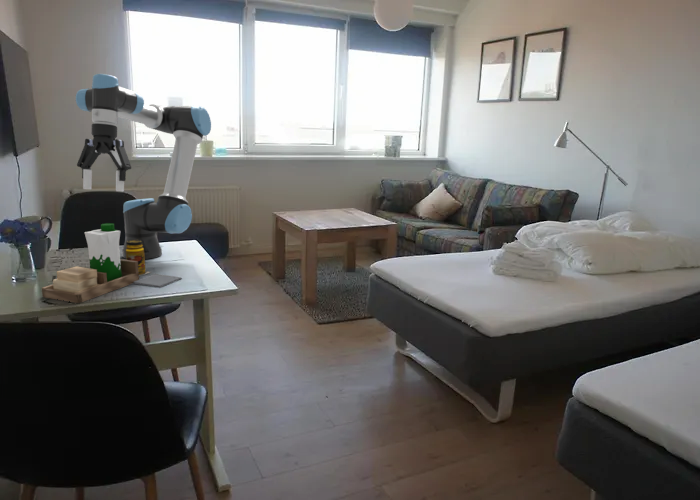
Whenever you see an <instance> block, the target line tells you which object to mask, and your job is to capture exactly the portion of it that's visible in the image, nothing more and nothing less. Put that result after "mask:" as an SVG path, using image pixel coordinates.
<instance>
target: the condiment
mask: <svg viewBox="0 0 700 500" xmlns="http://www.w3.org/2000/svg"><path fill="white" fill-rule="evenodd" d="M126 244H127V246H126V247H127V249H126V258H125V260H131V261H138V272H139V277H140V276H144V275H147V274H149V273H152V271H147V270H146V269H147V268H146V261H145V260H146V259H145V255H144V248H143V247H142V246H143V245H142V241H141V240H131V241H127V242H126Z"/></svg>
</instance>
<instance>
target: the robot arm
mask: <svg viewBox="0 0 700 500" xmlns="http://www.w3.org/2000/svg"><path fill="white" fill-rule="evenodd" d="M119 85H120V84H119V79H118V77H116V76H114V75H111V74H108V73H107V74H106V73H97V74H96V73H95V74H94V75H93V76H92V85H91V88H89V87H88V88H83V89H79V90H77V92H76V95H75V102H76V105H77V107H78V109H80V110H81V111H84V112H89V113H91V122H92V124H91V135H92V136H93V139H91V138H85V140H84V146H83V149H82V150H81V153H80V156H79V158H78V161H77V162H76V166H77V167H79V168H81V178H82V183H83V184H82V190H91V191H92V187H93V185H92V183H93V178H92V177H93V170H92V168H91V167H92V166H93V164H94V163H95V162H96V161H97V159H98V157H99V156H100V155H102V154H103V155H105V154H107V155H109V157H110V159H111V160H112V162H113V164H114V165H115V166H116V169H117V170H116V171H115V191H116V192H124V191H125V182H126V175H127V174H126V172H127V171H129V170H131V169H132V165H131V162H130V160H129V157H128V154H127V151H126V149H125V141H124V140H123V139H122V140H121V139H118V138H117V137H118V127H117V125H118V118H120V119H123V120H127V121H131V122H135V123H138V124H142V125H144V127H147V128H149V129H151V130H154V131H158V132H162V133H164V134H165V133H166V134H170V135H173V137H174V138H175V142H174V147H173V150H172V154H171V158H170V163H169V167H168V172H167V176H166V182H165V185H164V189H163V193H161V194H159V195H158V197H157V201H156V202H155V198H153V197H152V198H151V197H150V198H148V197H147V198H141V199H140V198H139V199H133V200H128V201H125V202H123V211H122V213H123V221H124V232H125V233H124V235H125V238H124V241H123V246H122V247H123V248H122V250H121V253H122V254H121V257H122V259H126V249H127V247H126V246H127V244H126V242H127V241H131V240H141V241H142V245H143V246H142V247H143V248H144V255H145V260H150V259H155V258H158V257H160V256H162V255H163V252H162V251H163V250H162V247H161V244H160V242H159V239H158V236H157V233H166V234H182V233H183V232H185V231H187V230H188V228H189V227H190V226H191V223H192V219H193V214H192V209H191V207H190V206H189V201H188V200H187V198H186V197H187V193H188V189H189V186H190V185H189V184H190V180H191V175H192V171H193V167H194V166H193V165H194V161H195V157H196V153H197V148H198V145H199V144H201V143H202V142H203V139H204V137H206V136H208V135H209V134H210V132H211V130H212V121H211V117H210V114H209V113H208V110H207V109H205V107H203V106H200V105H156V104H145V99H144V97H143V96H142V95H141V94H140V93H138V92H136V91H135V90H130V89H129V88H126V87H123V86H119Z"/></svg>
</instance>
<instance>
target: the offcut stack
mask: <svg viewBox="0 0 700 500" xmlns="http://www.w3.org/2000/svg"><path fill="white" fill-rule="evenodd" d="M52 284H53V287H54V290H59V291H65V292H72V293H77V292H80V291H83V290H86V289H88V288H91V287H94V286H97V285H99V284H97V270H96V269H90V267H89V268H88V267H83V266H77V265H76V266H72V267H68V268H66V269H65V268H64V269H61V270H58V271H56V278H55V279H52Z"/></svg>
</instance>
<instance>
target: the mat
mask: <svg viewBox="0 0 700 500" xmlns="http://www.w3.org/2000/svg"><path fill="white" fill-rule="evenodd" d="M181 280H182V276H175V275H166V274H161V273H154V274H151V275H148V276H146V277H143V278H141V279H140V278H139V280H137V281H134V282H133V284H135V285H142V286H146V287H147V286H148V287H153V286H154V287H155V288H163V287H165V286H167V285H170V284H173V283H175V282H177V281H181Z"/></svg>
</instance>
